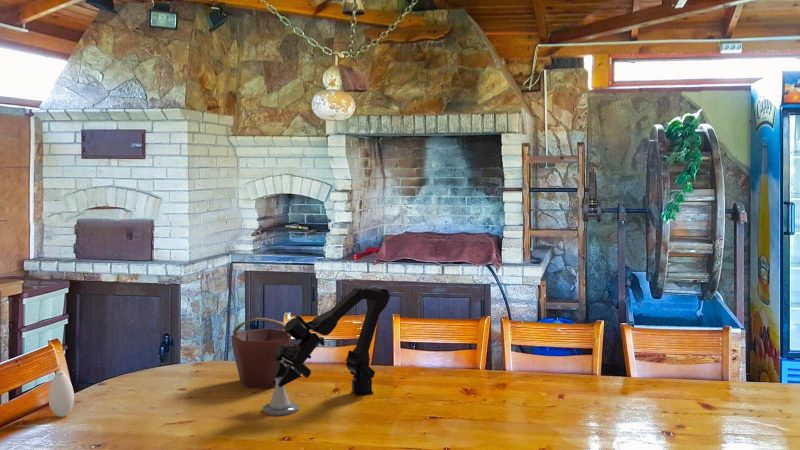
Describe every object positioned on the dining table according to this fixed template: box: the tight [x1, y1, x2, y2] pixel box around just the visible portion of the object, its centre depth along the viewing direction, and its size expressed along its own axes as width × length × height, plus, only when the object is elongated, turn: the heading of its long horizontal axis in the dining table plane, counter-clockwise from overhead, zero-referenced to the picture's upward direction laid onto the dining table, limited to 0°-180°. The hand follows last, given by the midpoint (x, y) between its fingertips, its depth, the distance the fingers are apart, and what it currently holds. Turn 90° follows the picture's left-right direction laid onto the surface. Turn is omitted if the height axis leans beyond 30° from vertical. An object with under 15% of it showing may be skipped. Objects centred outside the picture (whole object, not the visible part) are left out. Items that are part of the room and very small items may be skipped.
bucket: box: [231, 317, 293, 390], centre depth 288 cm, size 24×22×25 cm
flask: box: [269, 377, 292, 410], centre depth 257 cm, size 7×7×10 cm
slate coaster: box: [262, 401, 299, 417], centre depth 257 cm, size 12×12×1 cm
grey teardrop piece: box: [48, 363, 75, 418], centre depth 252 cm, size 8×8×18 cm
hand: (276, 384), depth 256 cm, fingers open, 4 cm apart
